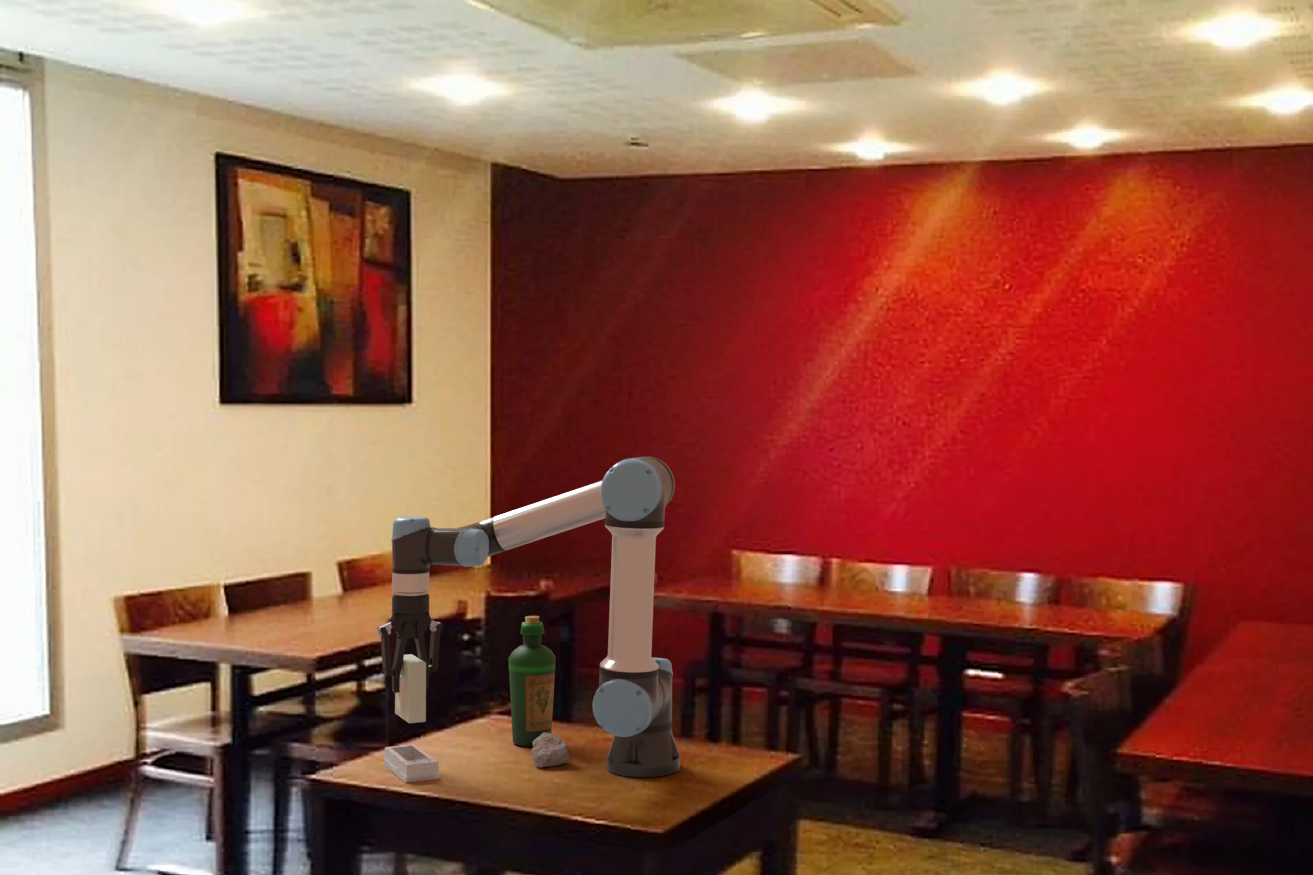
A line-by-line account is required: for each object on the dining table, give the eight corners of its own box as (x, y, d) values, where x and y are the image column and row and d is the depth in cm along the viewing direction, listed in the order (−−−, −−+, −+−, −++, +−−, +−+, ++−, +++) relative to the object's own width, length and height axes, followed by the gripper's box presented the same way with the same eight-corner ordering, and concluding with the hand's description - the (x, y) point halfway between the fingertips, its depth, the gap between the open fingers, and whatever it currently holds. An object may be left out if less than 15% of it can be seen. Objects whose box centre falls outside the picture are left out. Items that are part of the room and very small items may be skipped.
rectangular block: (425, 721, 299) (426, 662, 299) (408, 723, 298) (409, 663, 297) (411, 711, 308) (411, 654, 308) (395, 713, 307) (395, 655, 306)
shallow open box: (439, 778, 297) (439, 761, 297) (405, 782, 294) (405, 765, 294) (416, 760, 312) (416, 744, 312) (383, 764, 309) (383, 747, 309)
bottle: (548, 750, 321) (549, 621, 320) (501, 747, 323) (501, 619, 322) (561, 738, 332) (562, 614, 331) (515, 736, 334) (516, 612, 333)
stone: (521, 759, 314) (521, 732, 314) (557, 756, 317) (557, 729, 317) (535, 770, 305) (535, 742, 304) (572, 767, 308) (572, 739, 308)
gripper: (444, 588, 309) (443, 700, 310) (365, 592, 302) (365, 707, 302) (455, 593, 302) (455, 707, 303) (375, 597, 295) (375, 714, 296)
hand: (410, 707), depth 303 cm, fingers closed on rectangular block, 3 cm apart
